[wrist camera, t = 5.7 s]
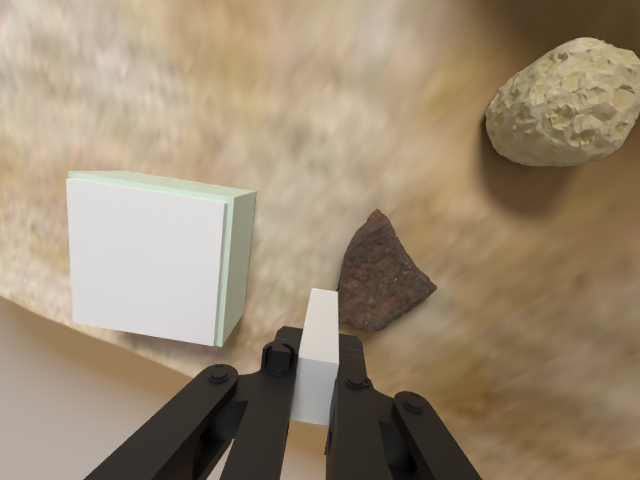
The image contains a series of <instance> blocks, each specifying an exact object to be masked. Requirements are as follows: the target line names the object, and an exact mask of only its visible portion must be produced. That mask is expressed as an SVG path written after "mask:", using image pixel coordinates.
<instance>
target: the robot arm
mask: <svg viewBox="0 0 640 480" xmlns="http://www.w3.org/2000/svg"><path fill="white" fill-rule="evenodd" d="M290 420H294V421H300V422H306V423H313V424H319V425H326V426H328V424H329V430H328V436H327V442H326V447H325V453H324V454H325V455H327V457H326V480H482V479H481V477H480V476H479V474H478V473H477V471H476V470H475V468H474V467H473V466H472V464H471V463H470V461H469V460H468V458H467V457H466V455H465V454H464V453H463V451H462V450H461V448H460V447H459V445H458V444H457V442H456V441H455V439H454V438H453V437H452V435H451V434H450V432H449V431H448V429H447V428H446V426H445V425H444V423H443V422H442V421H441V419H440V418H439V416H438V415H437V413H436V412H435V410H434V409H433V407H432V406H431V405H430V403H429V402H428V401H427V400H426V399H425V398H423V397H422V396H420V395H418V394H416V393H413V392H408V391H402V392H398V393H397V394H396V395H395V397H394V398H391V397H389V396H386V395H384V394H382V393H380V392H378V391H377V390H375V389H374V388H373V384H372V382H371V380H370V379H369V378H368V377H367V372H366V366H365V359H364V353H363V346H362V342H361V341H360V340H359V338H358V337H357V336H352V335H345V334H339V333H338V292H336V291H329V290H322V289H316V288H312V289H311V294H310V299H309V304H308V309H307V314H306V319H305V324H304V329H300V328H294V327H287V326H283V327H282V328H281V329H280V330H278V331H277V334H276V337H275V340H274V342H270V343H269V344H267V345H265V347H264V348H263V353H262V362H261V369H260V370H259V371H258V372H255V373H252V374H247V375H238V372H237V370H236V369H235V368H234V367H232V366H230V365H226V364H215V365H212V366H209V367H207V368H206V369H204V370H203V371H201V372H200V373H199V374H198V375H197V376H196V377H195V378H194V379H193V380H192V381H191V382H189V383H188V384H187V385H186V386H185V387H184V388H183V389H182V390H181V391H180V392H179V393H177V394H176V395H175V396H174V397H173V398H172V399H171V400H170V401H169V402H168V403H167V404H165V405H164V406H163V407H162V408H161V409H160V410H159V411H158V412H157V413H156V414H155V415H154V416H152V417H151V418H150V419H149V420H148V421H147V422H146V423H145V424H144V425H142V427H140V428H139V429H138V430H137V431H136V432H135V433H134V434H133V435H132V436H131V437H129V438H128V439H127V440H126V441H125V442H124V443H123V444H122V445H121V446H120V447H119V448H117V450H115V451H114V452H113V453H112V454H111V455H110V456H109V457H108V458H107V459H105V460H104V461H103V462H102V463H101V464H100V465H99V466H98V467H97V468H96V469H94V470H93V471H92V472H91V473H90V474H89V475H88V476H87V477H86V478H85V479H84V480H206V479H207V478H208V476H209V475H210V473H211V472H212V470H213V468H214V467H215V466H216V464H217V463H218V461H219V460H220V459H221V457H222V455H223V454H224V452H225V451H226V450H227V448H228V447H229V445H230V444H231V441H232V439H234V438H235V439H234V442H233V445H232V447H231V450H230V453H229V455H228V458H227V461H226V463H225V466H224V469H223V471H222V474H221V477H220V479H219V480H280V474H281V469H282V463H283V458H284V452H285V447H286V441H287V435H288V429H289V422H290Z"/></svg>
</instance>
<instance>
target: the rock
mask: <svg viewBox="0 0 640 480" xmlns="http://www.w3.org/2000/svg"><path fill="white" fill-rule="evenodd" d="M436 289H437V286H436V285H434V284H433V283H432V282H430V279H429V277H428V276H427V275H425V274H424V273H423V272H421V271H420V270H419V269H418V268H417V267H416V265H415V264H414V262H413V261H412V259H411V257H410V256H409V255H408V254H407V253H406V251H405V250H404V248H403V246H402V244H401V243H400V241H399V239H398V237H396V234H395V231H394V228H393V227H392V225H391V223H390V221H389V220H388V219H387V217H386V216H385V215H384V214H383V213H381V211H380V210H378V209H376V210H375V211H374V212H373V213H372V214H371V215H370V217H369V218H368V220H367V222H366V223H365V224H364V225H363V226H362V227H360V228H359V229H358V230H357V231H356V233H355V235H354V237H353V238H352V240H351V242H350V244H349V246H348V248H347V250H346V253H345V255H344V260H343V265H342V271H341V277H340V281H339V285H338V289H337V290H336V292H338V322H341V323H347V324H348V325H350V326H351V327H353V328H354V329H359V330H361V331H364V332H366V333H372V332H375V331H379V330H382V329H384V328H385V327H386V326H387V324H389V323H390V322H392V321H393V320H395V319H398V318H400V317H401V316H402V315H403V314H404V313H406V312H408V311H410V310H411V309H412V308H414V307H415V306H417V305H418V304H420V303H421V302H422V301H424V300H425V299H426V298H427V297H429V296H430V295H431V294H432V293H433V292H434V291H435V290H436Z"/></svg>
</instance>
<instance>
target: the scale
mask: <svg viewBox="0 0 640 480" xmlns="http://www.w3.org/2000/svg"><path fill="white" fill-rule="evenodd" d="M68 174H69V178H68V179H66V186H67V207H68V228H69V249H70V270H71V291H72V312H73V323H77V324H83V325H89V326H95V327H101V328H107V329H113V330H119V331H125V332H131V333H137V334H143V335H149V336H155V337H161V338H167V339H173V340H179V341H184V342H190V343H196V344H202V345H208V346H219V347H222V346H223V344H224V343H225V341H226V340H227V338H228V337H229V335H230V333H231V332H232V330H233V329H234V327H235V326H236V324H237V323H238V321H239V319H240V318H241V316H242V315H243V313H244V309H245V299H246V289H247V279H248V269H249V259H250V249H251V239H252V229H253V219H254V209H255V199H256V191H251V190H244V189H238V188H232V187H225V186H219V185H213V184H206V183H200V182H194V181H187V180H181V179H175V178H168V177H162V176H156V175H149V174H143V173H137V172H130V171H68Z"/></svg>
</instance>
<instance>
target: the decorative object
mask: <svg viewBox="0 0 640 480" xmlns="http://www.w3.org/2000/svg"><path fill="white" fill-rule="evenodd" d="M639 112H640V59H638V57H637V56H636V55H635V53H634V52H633V51H630V50H626V49H620V48H616V47H614V46H613V45H612V44H607V43H605V41H604V40H601V41H599V40H598V39H594V38H577V39H575V40H571V41H569V42H566V43H564V44H562V45H560V46H558V47H556V48H555V49H554V50H551V51H549V52H547V53H546V54H545V55H544V56H542V57H541V58H539V59H538V60H537V61H535V62H534V63H533V64H531V65H529V66H527V67H526V68H525V69H523V70H522V71H520V72H517V73H516V74H515V75H514V76H513V77H511V78H510V79H509V80H508V81H507V82H506V83H505V85H503V86H502V87H500V88H499V89H498V91H497V93H496V95H495V97H494V99H493V100H492V102H491V103H490V106H489V107H488V108H487V110H486V113H485V115H486V118H487V121H486V129H487V133H488V136H489V138H490V140H491V143H492V144H493V148H495V149H496V151H497V152H498V153H499V155H502V156H504V157H506V158H507V159H509V160H510V161H513V162H516V163H519V164H524V165H527V166H559V167H565V166H576V165H583V164H587V163H589V162H594V161H598V160H601V159H604V158H606V157H607V156H608V155H610V154H612V153H613V152H615V151H616V150H618V149H619V148H620V147H621V146H622V145H623V143H624V141H625V139H626V137H627V136H628V135H629V133H630V130H631V129H632V127H633V126H634V125H635V121H636V119H637V118H638V115H639Z"/></svg>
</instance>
